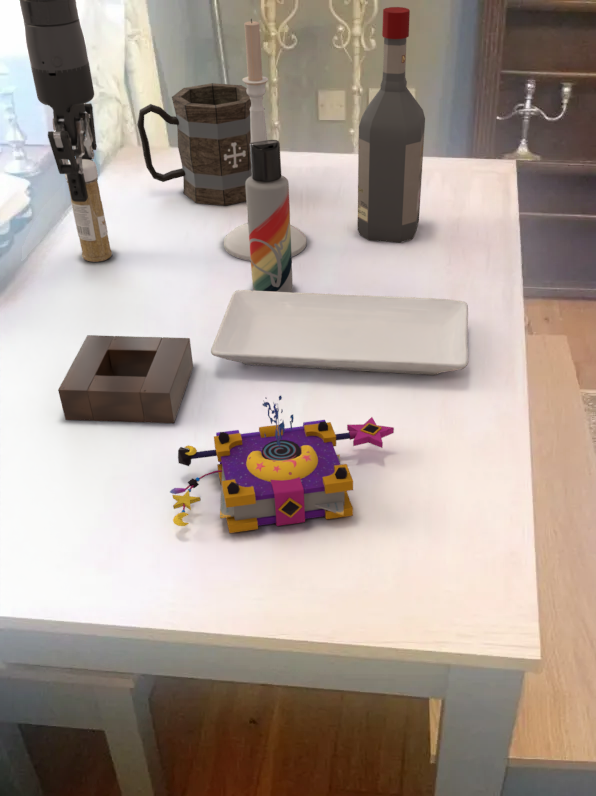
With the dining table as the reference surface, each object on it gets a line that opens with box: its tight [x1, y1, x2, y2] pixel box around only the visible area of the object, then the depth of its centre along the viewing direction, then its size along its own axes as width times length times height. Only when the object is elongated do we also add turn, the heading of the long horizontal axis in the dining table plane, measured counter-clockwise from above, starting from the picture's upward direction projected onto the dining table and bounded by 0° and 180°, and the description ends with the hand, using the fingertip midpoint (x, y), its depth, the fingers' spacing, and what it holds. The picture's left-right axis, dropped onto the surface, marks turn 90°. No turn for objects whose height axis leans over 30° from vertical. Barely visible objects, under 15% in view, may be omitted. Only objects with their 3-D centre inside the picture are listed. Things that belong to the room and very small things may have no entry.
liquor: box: [356, 6, 426, 244], centre depth 132 cm, size 9×9×30 cm
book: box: [169, 395, 395, 534], centre depth 90 cm, size 14×25×12 cm, turn 102°
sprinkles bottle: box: [64, 159, 113, 263], centre depth 132 cm, size 5×5×14 cm
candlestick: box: [223, 18, 307, 262], centre depth 129 cm, size 13×13×30 cm
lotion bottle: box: [245, 139, 294, 292], centre depth 121 cm, size 6×6×20 cm
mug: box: [136, 82, 252, 207], centre depth 150 cm, size 20×14×15 cm
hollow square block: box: [57, 334, 194, 424], centre depth 107 cm, size 13×13×4 cm
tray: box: [210, 289, 469, 376], centre depth 115 cm, size 17×31×4 cm, turn 84°
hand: (84, 193), depth 130 cm, fingers closed on sprinkles bottle, 4 cm apart
